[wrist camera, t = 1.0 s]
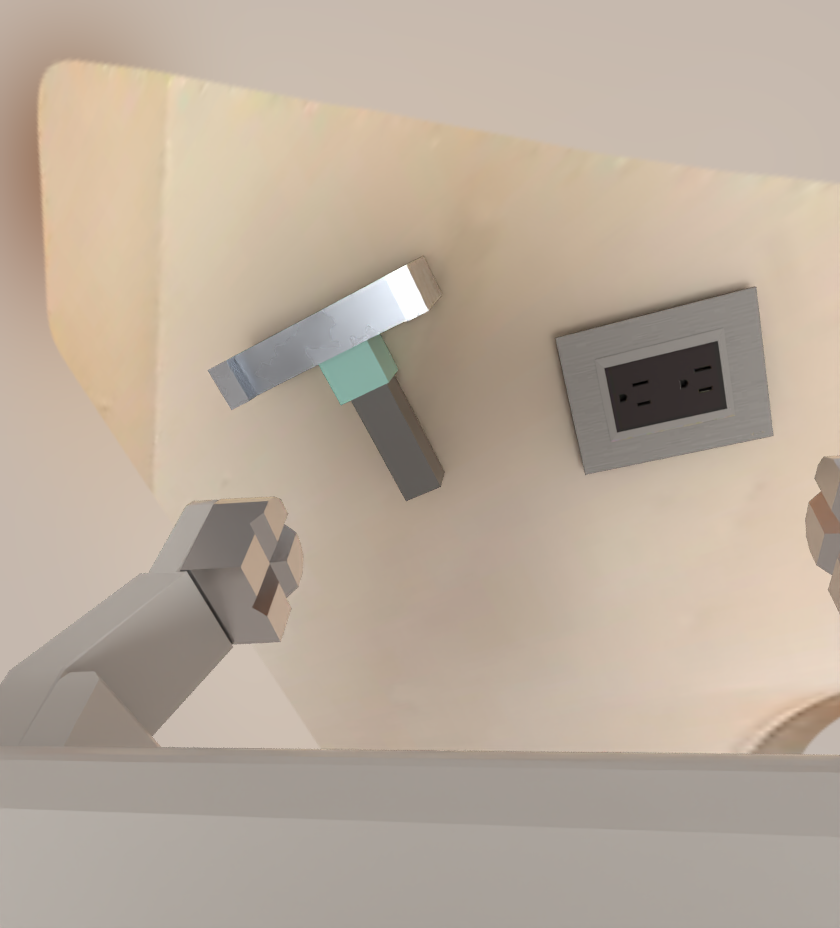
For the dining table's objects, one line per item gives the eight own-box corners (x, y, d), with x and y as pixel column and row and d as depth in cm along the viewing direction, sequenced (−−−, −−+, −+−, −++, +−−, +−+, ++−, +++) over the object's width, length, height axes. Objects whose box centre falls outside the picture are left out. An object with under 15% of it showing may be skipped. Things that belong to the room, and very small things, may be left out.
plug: (450, 469, 52) (445, 489, 48) (406, 488, 53) (398, 509, 49) (366, 306, 48) (353, 315, 45) (320, 330, 49) (304, 340, 46)
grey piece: (442, 294, 47) (428, 310, 40) (272, 380, 51) (231, 409, 44) (423, 255, 46) (405, 264, 39) (252, 346, 50) (207, 370, 43)
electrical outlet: (582, 464, 51) (585, 476, 49) (553, 333, 47) (555, 339, 45) (762, 426, 48) (774, 436, 46) (745, 283, 44) (757, 287, 42)
